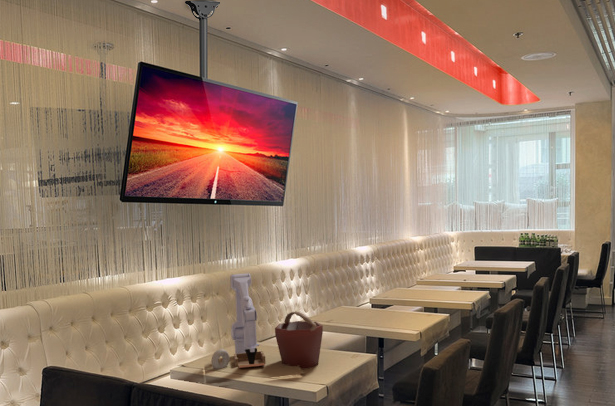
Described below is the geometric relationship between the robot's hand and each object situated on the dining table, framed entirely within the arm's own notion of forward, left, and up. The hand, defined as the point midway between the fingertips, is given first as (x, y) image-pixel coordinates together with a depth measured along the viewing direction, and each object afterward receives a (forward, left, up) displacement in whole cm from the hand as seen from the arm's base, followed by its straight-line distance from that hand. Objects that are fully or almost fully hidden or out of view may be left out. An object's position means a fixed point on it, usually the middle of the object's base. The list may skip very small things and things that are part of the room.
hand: (251, 364), depth 273 cm
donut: (-7, -14, -3) cm, 16 cm away
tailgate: (-4, 0, -1) cm, 4 cm away
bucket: (-3, +23, -3) cm, 23 cm away
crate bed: (-10, 0, -3) cm, 10 cm away
